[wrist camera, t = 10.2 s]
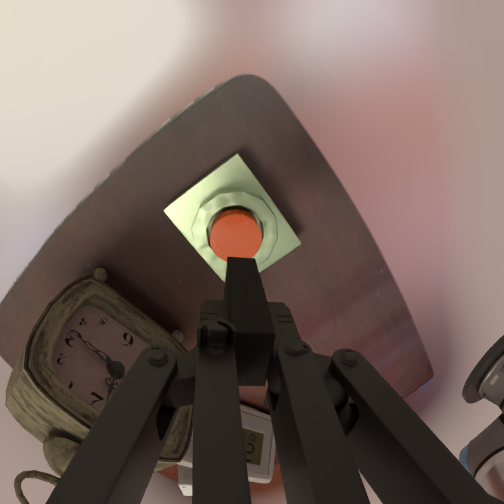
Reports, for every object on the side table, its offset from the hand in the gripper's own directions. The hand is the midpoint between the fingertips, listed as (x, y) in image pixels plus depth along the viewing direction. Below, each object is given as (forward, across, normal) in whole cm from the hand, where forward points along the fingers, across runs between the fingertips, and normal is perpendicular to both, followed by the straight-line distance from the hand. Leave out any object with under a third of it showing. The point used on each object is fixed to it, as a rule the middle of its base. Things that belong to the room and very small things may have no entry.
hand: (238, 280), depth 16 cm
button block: (+12, 0, 0) cm, 12 cm away
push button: (+9, 0, 0) cm, 9 cm away
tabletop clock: (+13, -11, -12) cm, 20 cm away
